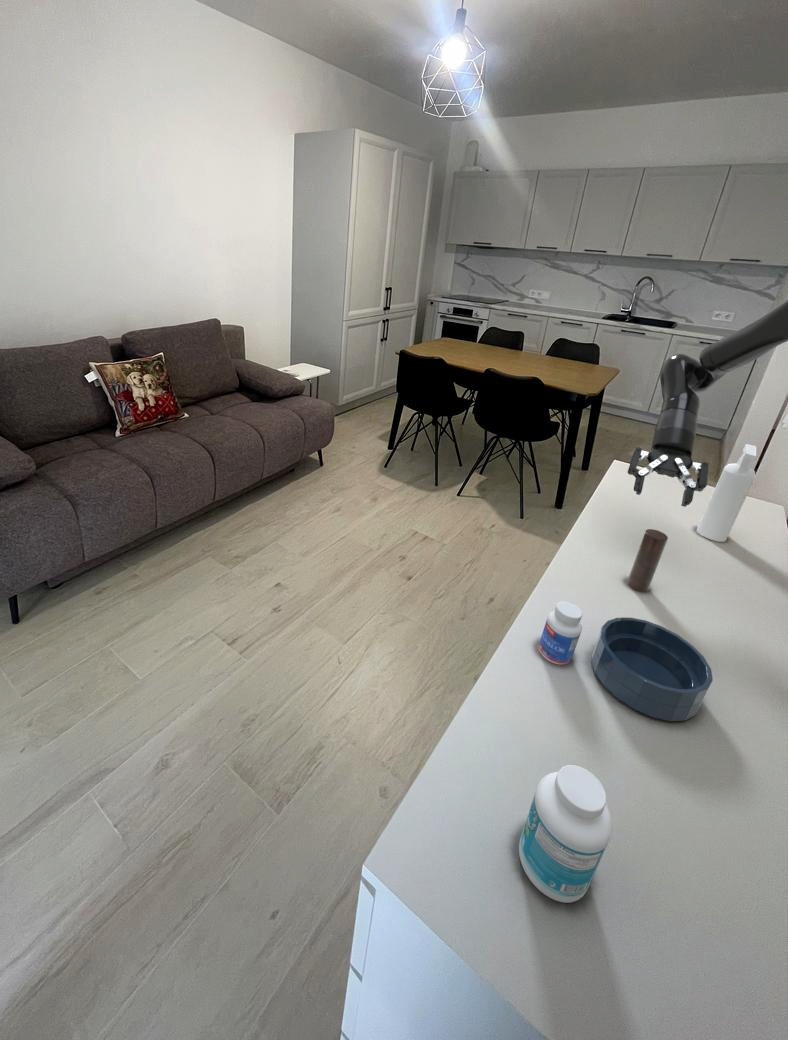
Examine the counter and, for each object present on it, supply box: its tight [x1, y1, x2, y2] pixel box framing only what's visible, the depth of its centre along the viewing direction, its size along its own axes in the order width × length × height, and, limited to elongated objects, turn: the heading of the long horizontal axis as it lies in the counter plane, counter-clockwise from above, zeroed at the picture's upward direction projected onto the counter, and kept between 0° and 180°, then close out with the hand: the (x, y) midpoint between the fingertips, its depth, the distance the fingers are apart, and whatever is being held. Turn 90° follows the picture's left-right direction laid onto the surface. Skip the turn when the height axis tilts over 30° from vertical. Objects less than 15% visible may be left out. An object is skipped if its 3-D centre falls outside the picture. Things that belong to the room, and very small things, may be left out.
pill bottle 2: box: [518, 764, 613, 904], centre depth 53 cm, size 8×7×14 cm
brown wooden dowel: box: [626, 528, 669, 593], centre depth 103 cm, size 4×4×13 cm
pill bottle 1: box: [538, 600, 583, 666], centre depth 84 cm, size 6×5×10 cm
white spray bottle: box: [696, 443, 757, 543], centre depth 123 cm, size 7×12×25 cm, turn 141°
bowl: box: [591, 617, 714, 722], centre depth 80 cm, size 15×15×6 cm
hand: (661, 499), depth 106 cm, fingers open, 8 cm apart
